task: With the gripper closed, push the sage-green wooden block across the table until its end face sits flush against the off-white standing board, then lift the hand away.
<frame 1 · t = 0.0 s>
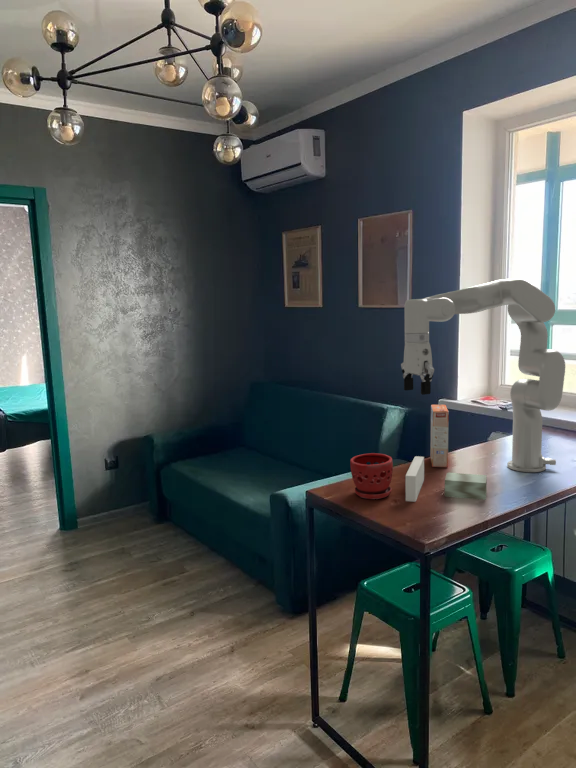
hand: (417, 392, 182), 31 cm above the table, tool pointing down, fingers open, 9 cm apart
block: (465, 494, 178), on the table
cracker box: (439, 463, 212), on the table
board: (415, 489, 183), on the table
plant pot: (371, 495, 180), on the table
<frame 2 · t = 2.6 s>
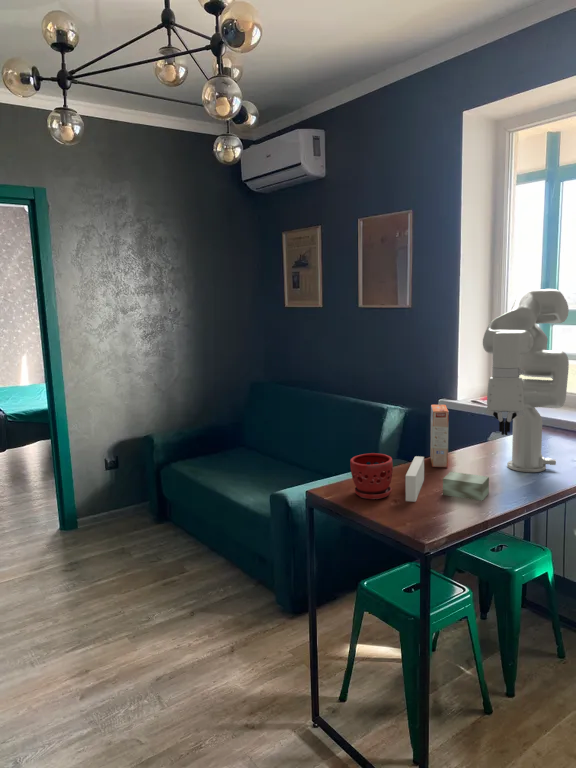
hand: (504, 433, 171), 20 cm above the table, tool pointing down, fingers closed
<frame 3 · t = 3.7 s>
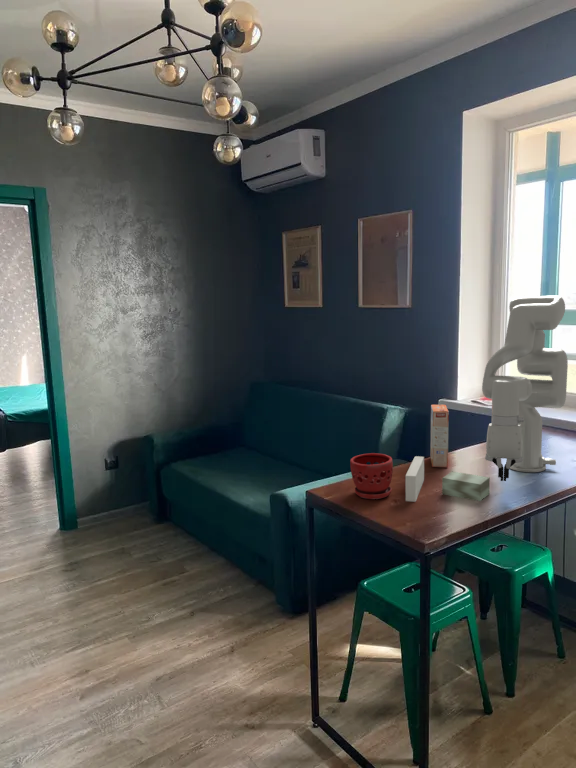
hand: (503, 479, 173), 5 cm above the table, tool pointing down, fingers closed
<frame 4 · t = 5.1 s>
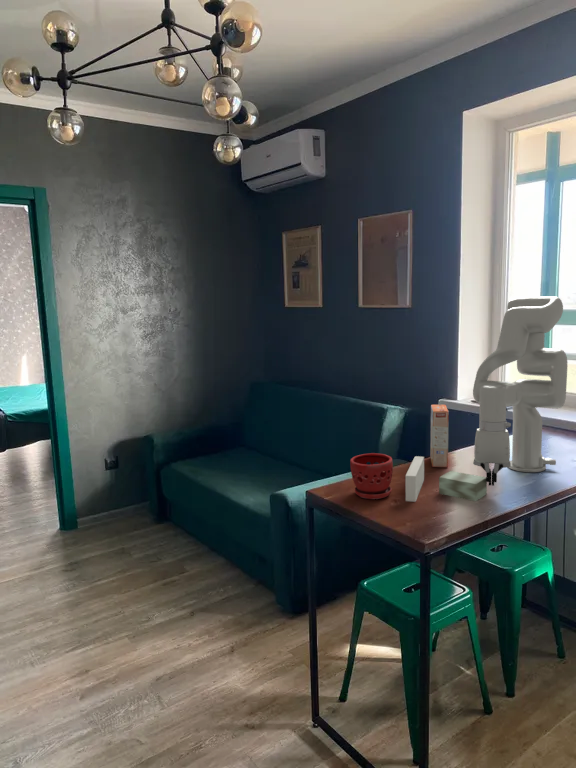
hand: (491, 484, 175), 4 cm above the table, tool pointing down, fingers closed
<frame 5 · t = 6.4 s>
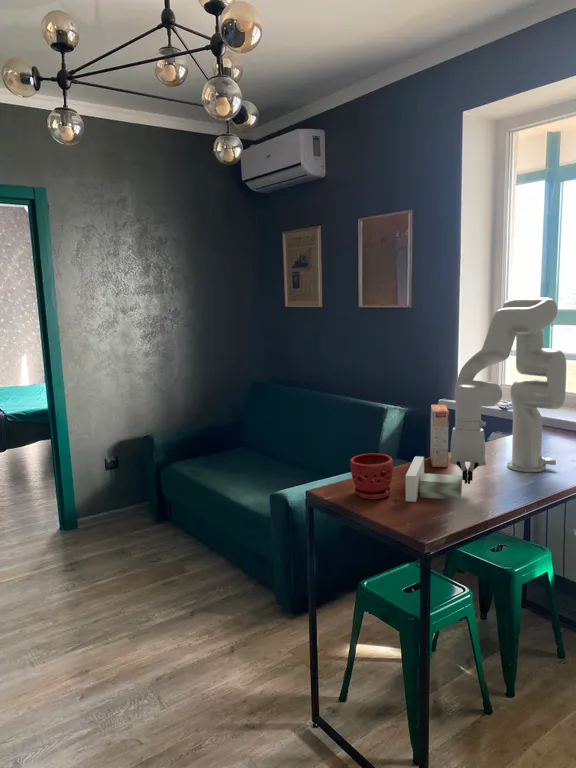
hand: (467, 482, 177), 4 cm above the table, tool pointing down, fingers closed
block: (441, 495, 178), on the table
everything else where it was.
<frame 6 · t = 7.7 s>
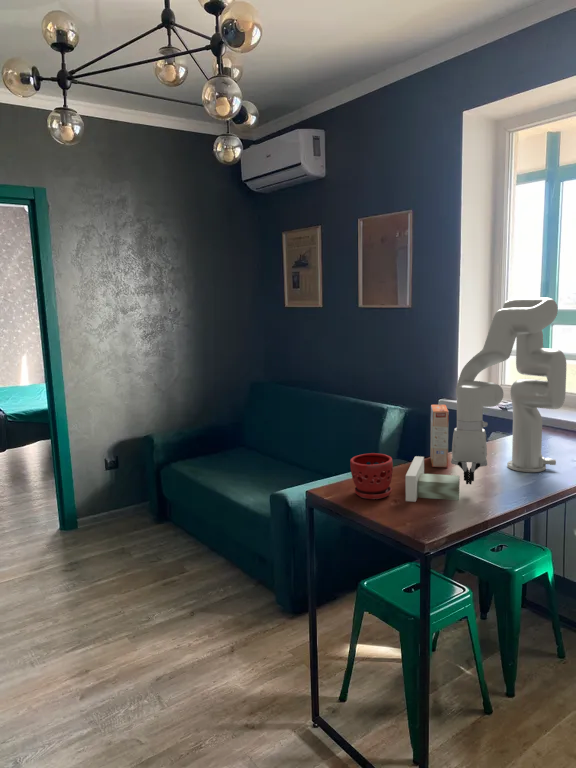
hand: (468, 482, 177), 4 cm above the table, tool pointing down, fingers closed
nothing on the table moved.
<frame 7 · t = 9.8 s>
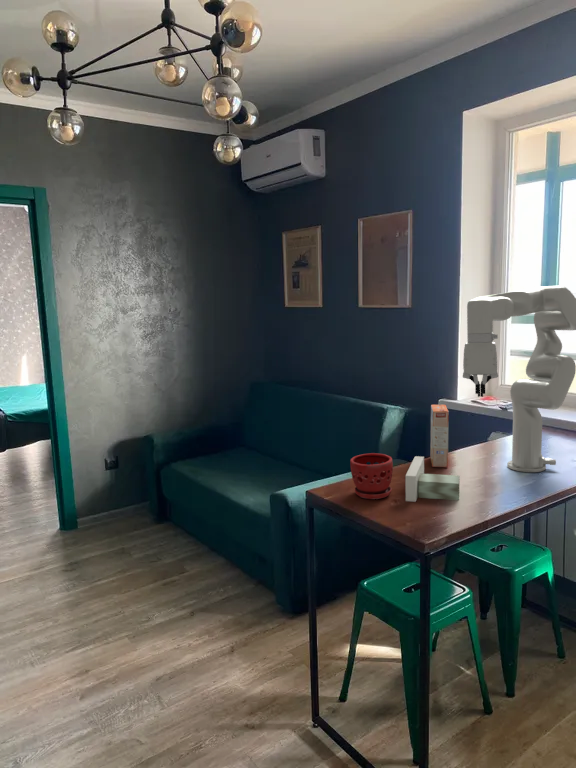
hand: (480, 395, 182), 29 cm above the table, tool pointing down, fingers closed
nothing on the table moved.
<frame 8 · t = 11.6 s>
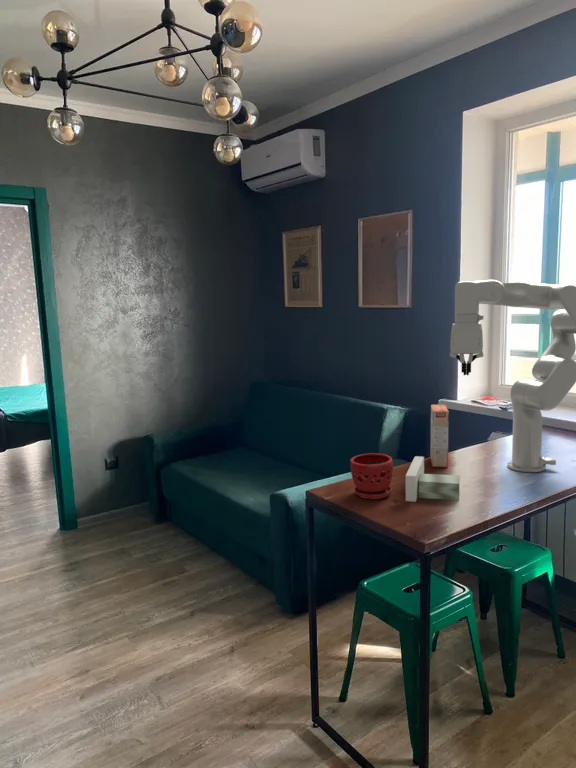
hand: (466, 374, 190), 35 cm above the table, tool pointing down, fingers closed
nothing on the table moved.
at the end: block 2.7 cm from the target spot on the table beside the board, on the table; block tilted 0° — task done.
